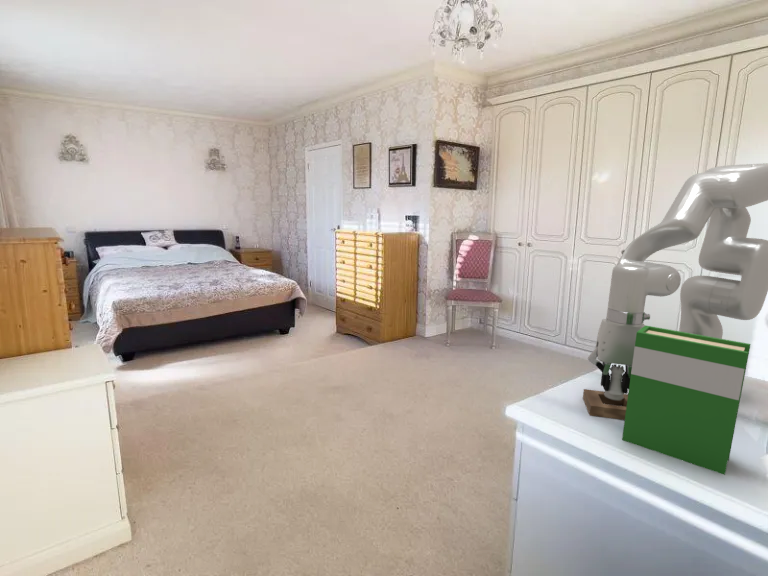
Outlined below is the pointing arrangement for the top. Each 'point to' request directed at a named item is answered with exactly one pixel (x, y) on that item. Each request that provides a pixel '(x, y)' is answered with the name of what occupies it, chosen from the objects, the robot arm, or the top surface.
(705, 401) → the hardback book
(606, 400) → the socket board
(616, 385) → the rook chess piece
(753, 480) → the top surface
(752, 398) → the top surface
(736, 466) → the top surface
